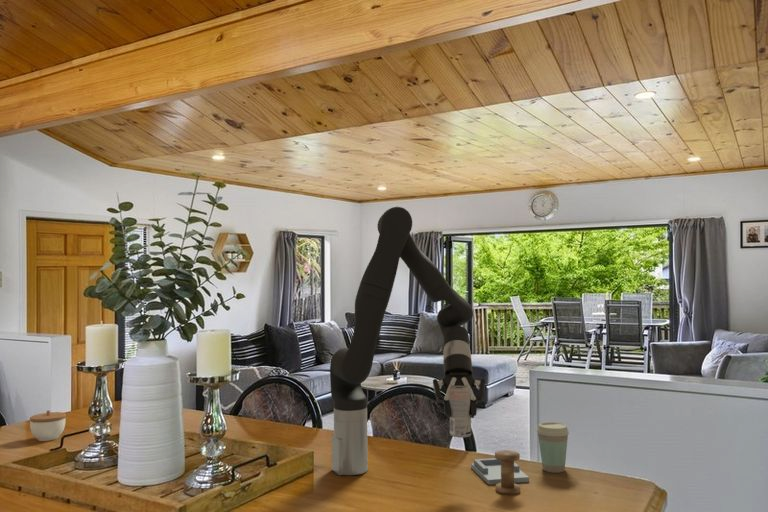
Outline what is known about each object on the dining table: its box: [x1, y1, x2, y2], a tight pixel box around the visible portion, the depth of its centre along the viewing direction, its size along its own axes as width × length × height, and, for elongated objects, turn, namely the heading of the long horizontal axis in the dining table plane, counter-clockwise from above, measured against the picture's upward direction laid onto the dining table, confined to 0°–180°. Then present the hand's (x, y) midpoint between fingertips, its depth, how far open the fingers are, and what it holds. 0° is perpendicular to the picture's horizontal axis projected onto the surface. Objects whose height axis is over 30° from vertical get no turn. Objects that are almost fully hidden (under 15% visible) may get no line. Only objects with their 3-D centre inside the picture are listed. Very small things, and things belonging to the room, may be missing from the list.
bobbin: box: [494, 449, 521, 496], centre depth 150 cm, size 6×6×9 cm
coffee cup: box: [536, 421, 570, 474], centre depth 166 cm, size 8×8×12 cm
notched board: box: [470, 457, 530, 486], centre depth 162 cm, size 14×11×2 cm
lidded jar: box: [29, 409, 67, 442], centre depth 205 cm, size 11×11×9 cm
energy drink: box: [449, 386, 472, 439], centre depth 154 cm, size 5×5×12 cm
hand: (460, 415), depth 152 cm, fingers closed on energy drink, 5 cm apart
